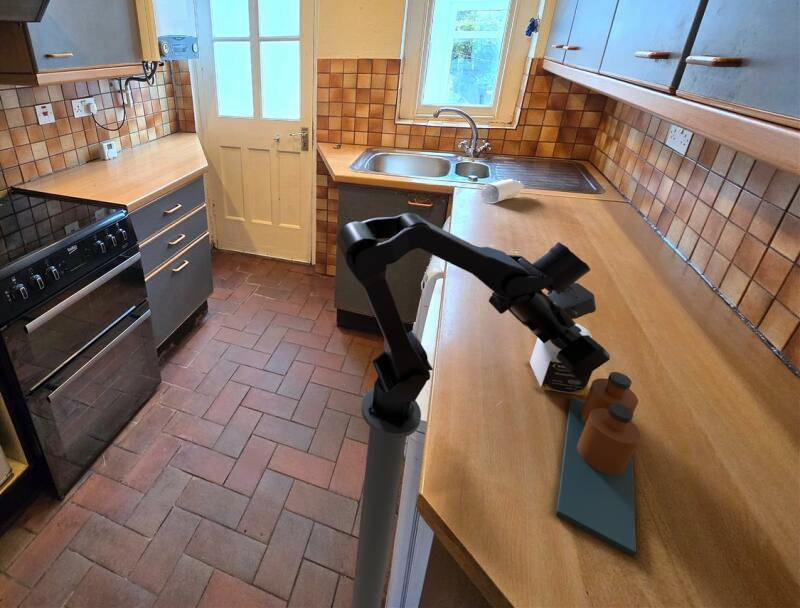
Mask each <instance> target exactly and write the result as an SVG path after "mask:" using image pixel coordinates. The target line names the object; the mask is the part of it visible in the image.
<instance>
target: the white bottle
mask: <svg viewBox="0 0 800 608" xmlns="http://www.w3.org/2000/svg"><path fill="white" fill-rule="evenodd" d="M524 188H525V185H524V184H523V182H522V181H520V180H519V181H518V180H516V179H512V178H510V179H505V180H499V181H497V182H495V181H494V182H490V183H486V184H483V186H482V187H481V190H480V195H481V198H482V199H483V198H485V199H483V201H484V202H485V203H487V204H495V203H498V202H502V201H504V200H509V199H514V198H515V197H517V196H518V195H519V194H520V193H521V192H522V191H523V190H524ZM491 196H492V197H491Z"/></svg>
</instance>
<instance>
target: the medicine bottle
mask: <svg viewBox="0 0 800 608" xmlns="http://www.w3.org/2000/svg"><path fill="white" fill-rule="evenodd" d="M567 328H568V327H567ZM568 329H569V330H570V331H571V332H572V333H573V334H575V335H576V336H577V337H578V338H579V337H580V336H585V335H589V336H590V337H591V338H592V339H593V336H592V334H591V332H590V331H589V330H588V329H587V328H585V327H584V326H582V325H581V324H579V323H576V324H575V325H574V326H572V327H571V328H568ZM564 335H565V334H564ZM565 336H566V337H567V335H565ZM567 338H568V339H569V340H570V341H571V342H573V341H572V340H571V339H570V338H569V337H567ZM565 347H566V345H565V344H564V343H563V342H562V341H561V340H560V339H558V338H557V339H554V340H549V341H547V342H546V343H543V342H542V341H541V340H540V339H539V338H538V337H537V339H536V341H535V345H534V348H533V351H532V354H531V356H530V357H531V358H530V360H529V364H530V366H531V369H532V371H533V374H534V377H535V378H536V380H537V382H538V385H539V387H540V389H542V390H548V391H555V392H559V393H564V394H565V393H566V394H571V395H572V394H573V395H579V396H583V395H584V394H585V392H586V389H587V387H588V384H589V382H590V379H591V377H592V374H593V372H594V371H592V372H591V373H590V374H588V375H587V376H585V377H584V378H582V379H580V378H576V377H575V376H574V375H573V374H572V373H571V372H570V371H569V370H568V369H567V368H566V367H565V366H564V365H563V364H562V363H561V362H560V361H559V360H558V359H557V355H558V352H559V351H560V350H562V349H563V348H565Z"/></svg>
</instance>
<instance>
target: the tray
mask: <svg viewBox="0 0 800 608" xmlns="http://www.w3.org/2000/svg"><path fill="white" fill-rule="evenodd" d="M584 402H585V401H583V400H581V399H577V398H575V397H570V400H569V405H568V412H567V413H568V414H567V422H566V427H565V428H566V429H565V437H564V438H565V439H564V444H563V452H562V453H563V454H562V461H561V467H560V477H559V485H558V493H557V501H556V509H555V516H557V517H559V518H561V519H562V520H564V521H566V522H568V523H569V524H572V525H573V526H575V527H577V528H579V529H581V530H583V531H585V532H587V533H589V534H590V535H592V536H594V537H596V538H598V539H599V540H602V541H604V542H606V543H607V544H608V545H611V546H612V547H615V548H616V549H618V550H620V551H622V552H624V553H626V554H628V555H629V556H631V557H635V555H636V553H637V543H636V519H635V518H636V517H635V494H634V493H635V492H634V469H633V467H634V466H633V455H632V456H631V458H630V460H629V462H628V464H627V466H626V468H625V470H624V471H623V473H622V474H619V475H608V474H604V473H602V472H599V471H597V470H595V469H594V468H592V467H591V466H590V465H588V464H587V463H586V462H585V461H584V460H583V459H582V458H581V456H580V455H579V453H578V450H577V444H578V442H579V439H580V437H581V435H582V432H583V430H584V427H585V424H584V423H583V421H582V420H581V417H580V412H581V410H582V407H583V405H584Z"/></svg>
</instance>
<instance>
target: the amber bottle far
mask: <svg viewBox="0 0 800 608" xmlns="http://www.w3.org/2000/svg"><path fill="white" fill-rule="evenodd" d="M632 384H633V383H632V379H631V378H630V377H629V376H628V375H625V374H624V373H621V372H619V371H611V372H610V373H609V374H608V376H607V378H605V377H602V378H601V377H600V378H596V379H594V380H593V381H592V382H591V385H590V388H589V389H588V392H587V395H586V397H585V400H584V401H583V402H584V405H583V407H582V410H581V412H580V417H581V420H582V421H583V423H584V424H585V425H586V422H587V420H588V418H589V415H590V413H591V411H593V410H594V409H598V408H603V409H608V407H609V404H611V403H619V404H622V405H624V406H626V407H627V408H629V409H630V410H631V411H632V413H633V414H634V413H635V411H636V409H637V407H638V404H639V399H638V396H637V395H636V393H634V391H633V390H632V389H630V388H631V386H632Z"/></svg>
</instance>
